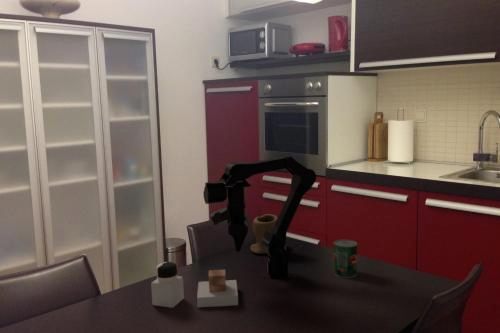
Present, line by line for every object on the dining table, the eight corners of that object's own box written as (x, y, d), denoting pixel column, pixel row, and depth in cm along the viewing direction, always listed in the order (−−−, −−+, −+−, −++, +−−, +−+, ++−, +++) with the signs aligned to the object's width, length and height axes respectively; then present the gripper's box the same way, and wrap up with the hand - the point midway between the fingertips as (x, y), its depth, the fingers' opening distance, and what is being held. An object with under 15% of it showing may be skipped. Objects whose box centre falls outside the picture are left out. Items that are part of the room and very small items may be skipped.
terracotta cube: (225, 284, 143) (225, 269, 142) (225, 291, 138) (225, 275, 137) (209, 285, 143) (208, 270, 142) (209, 292, 138) (208, 276, 137)
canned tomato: (359, 277, 154) (359, 246, 152) (335, 278, 154) (335, 246, 152) (354, 269, 161) (354, 239, 160) (332, 269, 162) (332, 239, 160)
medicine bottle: (184, 298, 141) (182, 261, 139) (173, 308, 134) (171, 269, 132) (163, 295, 143) (162, 259, 141) (151, 305, 136) (149, 267, 135)
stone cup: (254, 258, 175) (253, 220, 173) (248, 248, 187) (247, 213, 185) (292, 254, 178) (292, 217, 176) (284, 245, 190) (283, 210, 188)
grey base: (236, 288, 147) (236, 279, 147) (238, 305, 135) (237, 295, 135) (199, 290, 146) (198, 281, 146) (197, 307, 134) (197, 297, 134)
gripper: (211, 196, 158) (213, 239, 160) (211, 208, 139) (212, 257, 142) (243, 194, 159) (245, 238, 161) (247, 206, 140) (248, 255, 142)
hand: (237, 246), depth 151 cm, fingers open, 9 cm apart
